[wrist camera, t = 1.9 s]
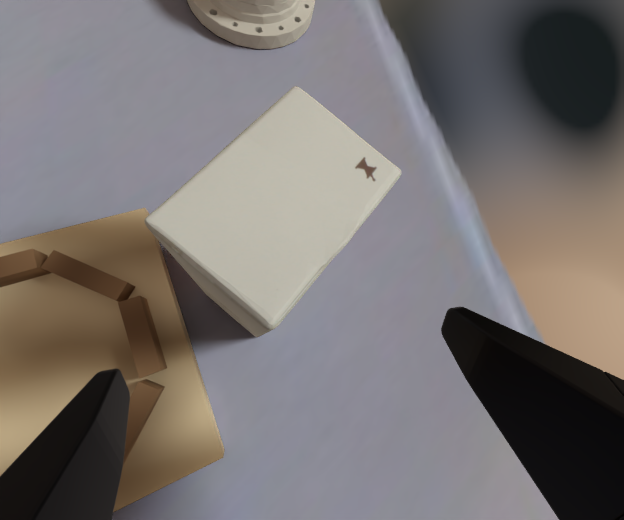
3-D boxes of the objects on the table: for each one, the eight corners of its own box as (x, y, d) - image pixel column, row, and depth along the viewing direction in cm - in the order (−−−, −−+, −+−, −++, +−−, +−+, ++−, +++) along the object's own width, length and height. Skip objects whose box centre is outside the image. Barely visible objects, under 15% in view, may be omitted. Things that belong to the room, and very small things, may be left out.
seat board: (224, 449, 17) (221, 466, 14) (-116, 617, 13) (-195, 677, 10) (150, 216, 19) (138, 198, 17) (-157, 295, 15) (-229, 286, 13)
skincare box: (268, 224, 20) (299, 76, 9) (317, 266, 20) (411, 170, 9) (200, 295, 18) (133, 217, 7) (256, 341, 18) (277, 338, 7)
